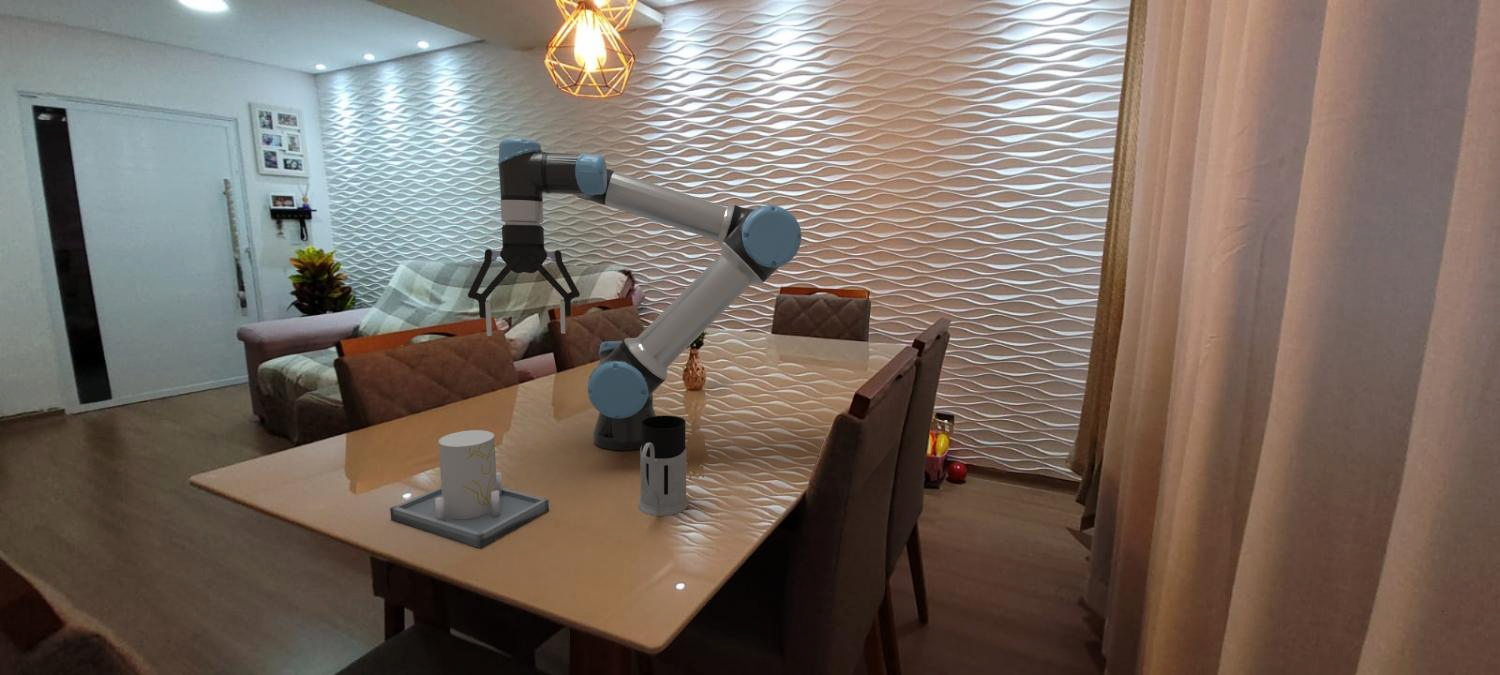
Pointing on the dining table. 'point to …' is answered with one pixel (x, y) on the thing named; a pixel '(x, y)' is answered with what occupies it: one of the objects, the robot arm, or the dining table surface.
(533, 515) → the tray
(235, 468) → the dining table surface
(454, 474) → the cup
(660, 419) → the glass holder
